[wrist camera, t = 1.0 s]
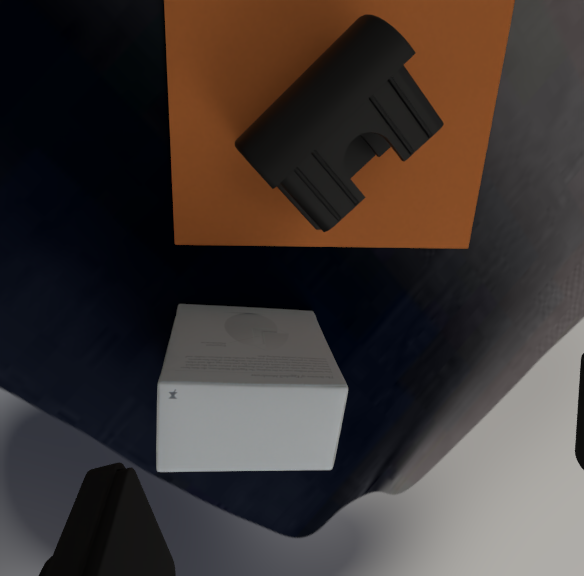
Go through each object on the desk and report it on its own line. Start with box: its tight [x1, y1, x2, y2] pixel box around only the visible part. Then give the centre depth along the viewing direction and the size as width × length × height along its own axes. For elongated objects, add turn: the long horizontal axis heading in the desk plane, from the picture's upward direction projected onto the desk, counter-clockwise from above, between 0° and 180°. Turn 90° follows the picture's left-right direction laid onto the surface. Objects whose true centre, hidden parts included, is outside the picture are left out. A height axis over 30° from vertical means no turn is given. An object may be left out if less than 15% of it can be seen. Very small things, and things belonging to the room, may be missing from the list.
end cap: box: [235, 14, 444, 232], centre depth 26 cm, size 10×7×7 cm
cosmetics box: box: [156, 304, 348, 472], centre depth 29 cm, size 10×6×10 cm, turn 83°
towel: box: [164, 0, 515, 249], centre depth 29 cm, size 20×22×1 cm
